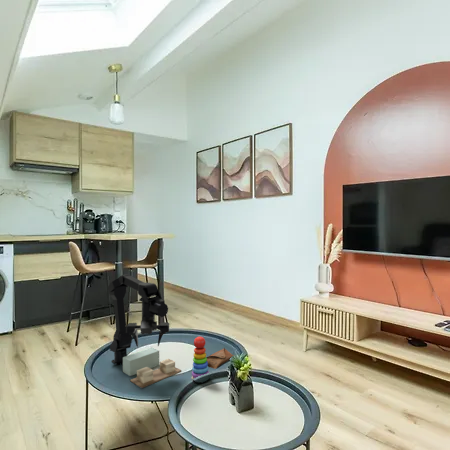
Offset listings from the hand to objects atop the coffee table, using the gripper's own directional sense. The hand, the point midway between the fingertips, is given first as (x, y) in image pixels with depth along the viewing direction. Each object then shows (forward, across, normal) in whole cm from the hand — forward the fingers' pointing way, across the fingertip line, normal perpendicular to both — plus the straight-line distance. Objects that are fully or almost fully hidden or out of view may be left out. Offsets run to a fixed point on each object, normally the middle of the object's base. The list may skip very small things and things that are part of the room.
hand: (147, 346), depth 149 cm
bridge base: (+13, +4, -2) cm, 14 cm away
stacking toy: (+12, +24, -8) cm, 28 cm away
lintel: (+13, -4, +7) cm, 15 cm away
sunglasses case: (+13, +34, +11) cm, 38 cm away
